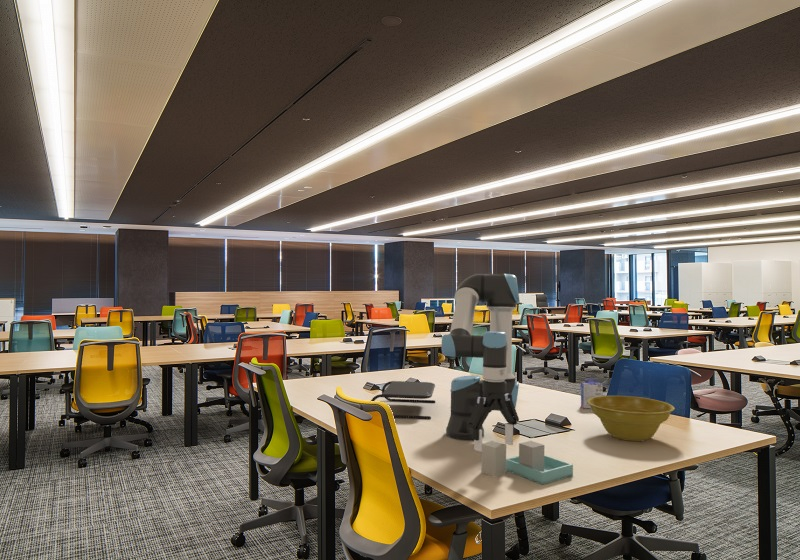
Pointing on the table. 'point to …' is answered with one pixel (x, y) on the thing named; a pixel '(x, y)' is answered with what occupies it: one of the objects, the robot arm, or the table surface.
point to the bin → (551, 472)
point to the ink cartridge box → (590, 391)
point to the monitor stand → (408, 394)
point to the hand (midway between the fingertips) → (493, 447)
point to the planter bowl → (630, 415)
